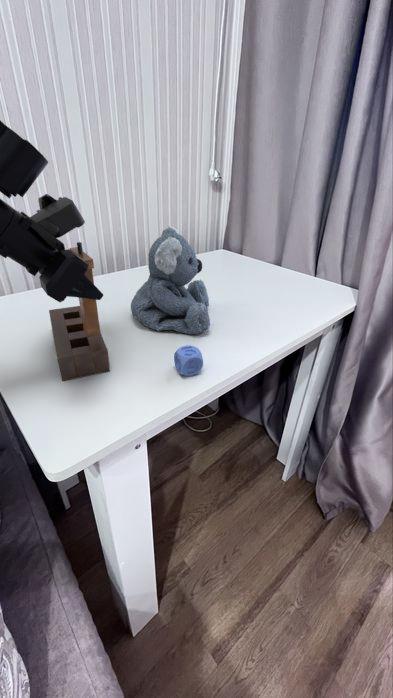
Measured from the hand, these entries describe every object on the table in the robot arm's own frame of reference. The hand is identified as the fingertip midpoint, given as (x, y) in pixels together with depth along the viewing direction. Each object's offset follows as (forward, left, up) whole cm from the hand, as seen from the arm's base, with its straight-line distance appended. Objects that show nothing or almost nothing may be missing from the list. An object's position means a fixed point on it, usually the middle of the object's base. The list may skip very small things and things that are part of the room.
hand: (94, 290), depth 54 cm
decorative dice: (+13, -9, -14) cm, 21 cm away
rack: (-4, +5, -13) cm, 15 cm away
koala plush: (+17, +11, -14) cm, 25 cm away
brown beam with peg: (-1, 0, -8) cm, 8 cm away
